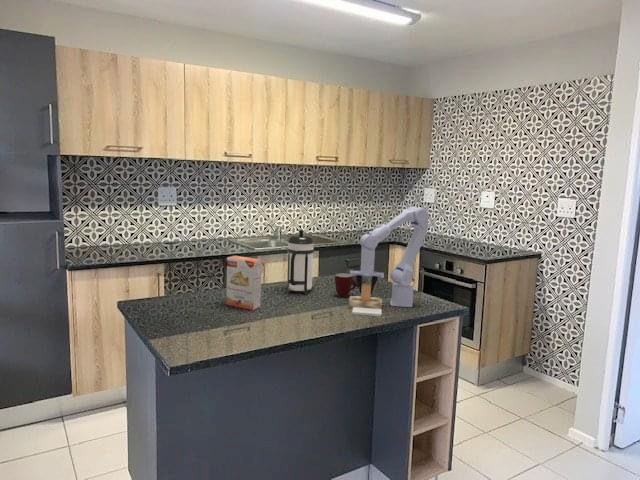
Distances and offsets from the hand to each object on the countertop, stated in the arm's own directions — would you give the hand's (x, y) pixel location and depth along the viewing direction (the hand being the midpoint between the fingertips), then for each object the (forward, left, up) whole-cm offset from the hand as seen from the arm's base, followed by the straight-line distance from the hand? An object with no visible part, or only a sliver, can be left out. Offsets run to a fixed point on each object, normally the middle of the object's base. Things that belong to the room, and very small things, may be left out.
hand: (366, 292), depth 206 cm
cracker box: (+51, +13, -6) cm, 53 cm away
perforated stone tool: (+6, -39, -6) cm, 40 cm away
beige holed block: (0, 0, -6) cm, 6 cm away
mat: (-1, +9, -6) cm, 11 cm away
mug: (+10, -15, -6) cm, 19 cm away
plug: (0, 0, -4) cm, 4 cm away
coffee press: (+32, -16, -6) cm, 36 cm away
